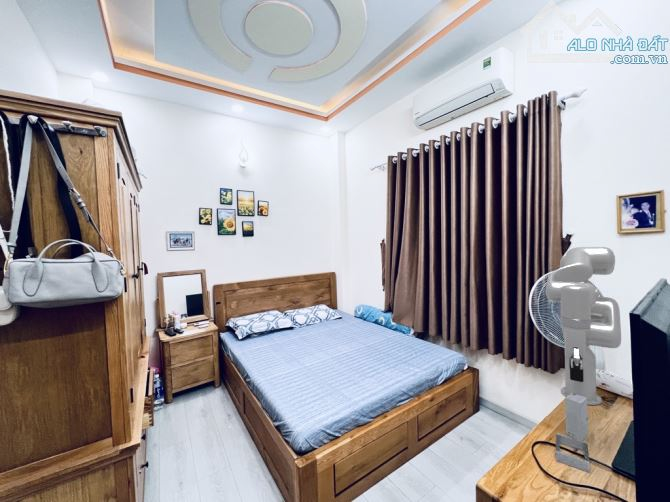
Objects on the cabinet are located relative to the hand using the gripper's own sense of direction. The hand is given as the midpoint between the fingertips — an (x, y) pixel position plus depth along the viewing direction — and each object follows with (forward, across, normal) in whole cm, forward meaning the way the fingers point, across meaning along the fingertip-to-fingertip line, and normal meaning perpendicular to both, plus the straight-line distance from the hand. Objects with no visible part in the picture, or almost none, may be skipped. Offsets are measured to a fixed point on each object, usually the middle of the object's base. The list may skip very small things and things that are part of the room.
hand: (576, 375), depth 93 cm
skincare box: (+20, -1, 0) cm, 20 cm away
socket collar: (+20, +12, -2) cm, 23 cm away
